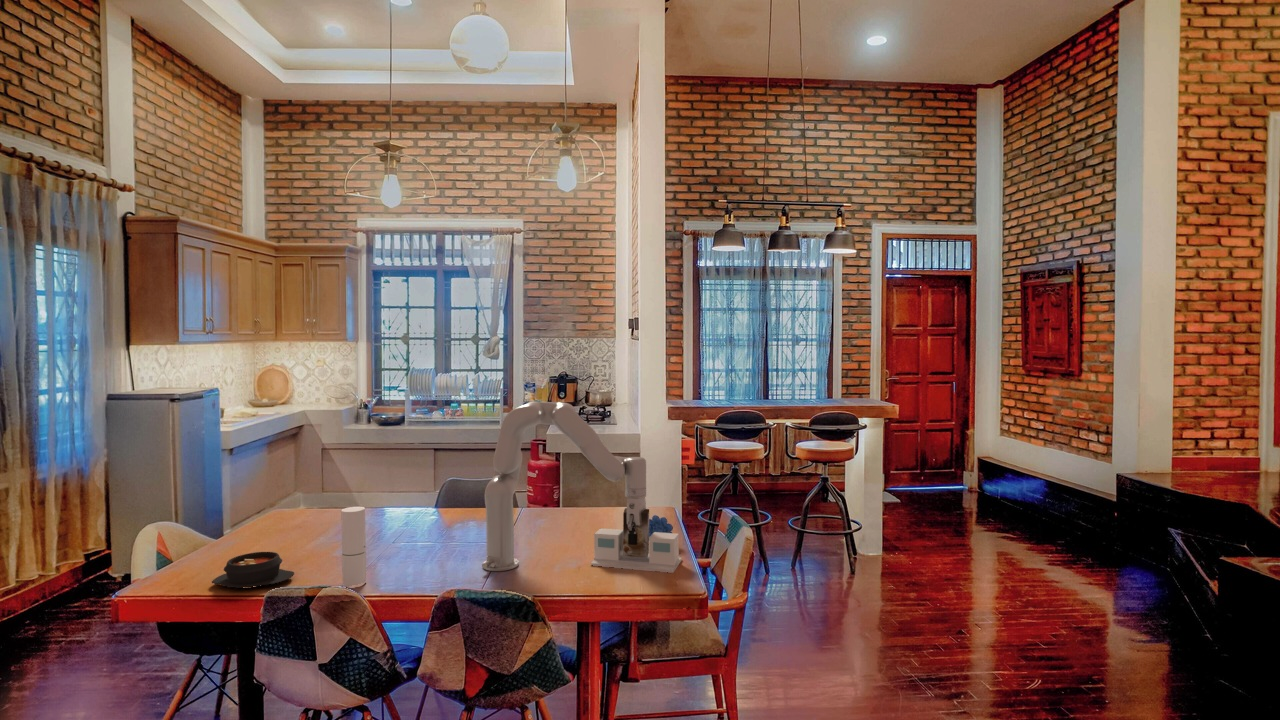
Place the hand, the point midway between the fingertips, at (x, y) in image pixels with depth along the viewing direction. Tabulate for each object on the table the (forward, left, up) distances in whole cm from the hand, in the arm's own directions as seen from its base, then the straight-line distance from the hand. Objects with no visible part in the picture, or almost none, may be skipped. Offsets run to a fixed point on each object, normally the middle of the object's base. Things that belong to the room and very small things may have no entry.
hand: (635, 541), depth 239 cm
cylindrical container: (-44, +84, -8) cm, 95 cm away
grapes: (+21, -3, -8) cm, 23 cm away
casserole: (-51, +118, -8) cm, 129 cm away
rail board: (0, 0, -8) cm, 8 cm away
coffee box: (0, 0, -5) cm, 5 cm away
